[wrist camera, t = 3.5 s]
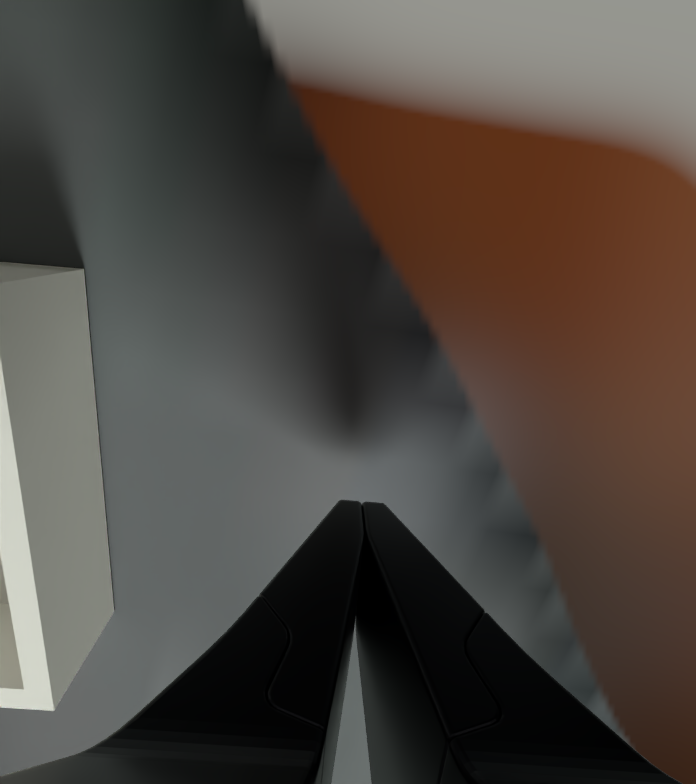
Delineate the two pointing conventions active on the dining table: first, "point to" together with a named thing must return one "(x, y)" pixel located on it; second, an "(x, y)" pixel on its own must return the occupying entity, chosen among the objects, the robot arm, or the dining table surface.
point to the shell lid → (48, 487)
